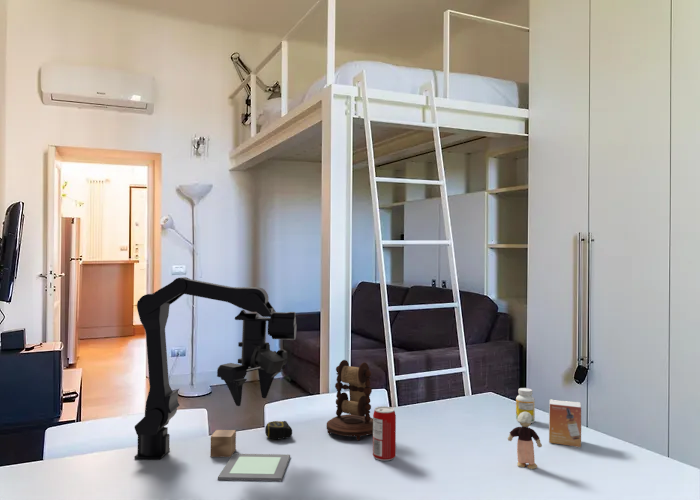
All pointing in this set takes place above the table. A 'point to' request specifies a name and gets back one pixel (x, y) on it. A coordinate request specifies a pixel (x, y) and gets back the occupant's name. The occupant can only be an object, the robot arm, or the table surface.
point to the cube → (223, 443)
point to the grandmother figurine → (525, 441)
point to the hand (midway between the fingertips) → (251, 401)
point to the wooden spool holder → (352, 402)
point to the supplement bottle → (525, 403)
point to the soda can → (384, 433)
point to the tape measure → (278, 430)
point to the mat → (255, 467)
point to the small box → (565, 423)
